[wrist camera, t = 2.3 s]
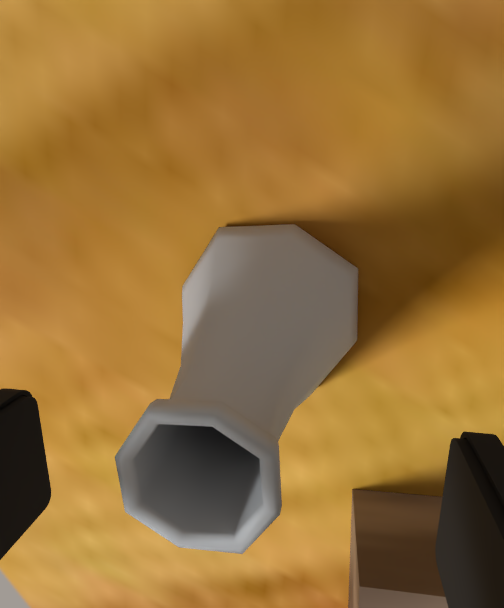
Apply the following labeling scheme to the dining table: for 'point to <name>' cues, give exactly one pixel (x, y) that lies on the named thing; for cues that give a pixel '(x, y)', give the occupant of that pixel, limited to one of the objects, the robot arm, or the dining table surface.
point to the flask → (238, 385)
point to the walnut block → (394, 551)
